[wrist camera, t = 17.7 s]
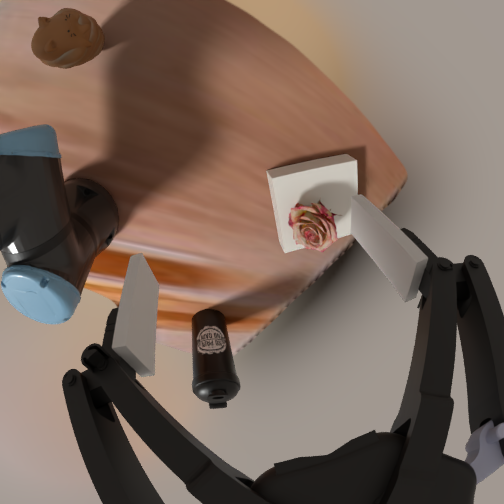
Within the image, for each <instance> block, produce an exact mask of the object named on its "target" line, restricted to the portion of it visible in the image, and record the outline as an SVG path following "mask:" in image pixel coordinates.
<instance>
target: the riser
mask: <svg viewBox="0 0 504 504" xmlns="http://www.w3.org/2000/svg"><path fill="white" fill-rule="evenodd" d="M266 172H267V177H268V182H269V187H270V192H271V198H272V203H273V209H274V214H275V220H276V225H277V231H278V237H279V242H280V244H281V246H282V248H283V251H284V253H288V252H291V251H295V250H298V249H302V248H305V247H304V245H302V244H297V245H296V242H295V240H297V239H293V229H292V228H291V227H290V226H289V224H288V221H289V218H288V217H289V214H290V212H291V208H294V207H295V205H296V204H297V203H299V204H302V205H304V206H310V205H311V206H312V204H311V203H318V201H319V200H320V201H321V203H322V204H323V205H324V206H325V208H327V209H328V210H330V209H331V210H330V212H332V213H334V214H337V215H335V216H334V222H335V225H336V232H337V238H340V237H343V236H347V235H350V234H351V197H352V196H356V195H358V175H357V160H356V159H354V158H353V157H351V156H349V155H348V154H342V155H337V156H331V157H326V158H321V159H316V160H311V161H306V162H302V163H297V164H292V165H288V166H284V167H279V168H275V169H271V170H267V171H266ZM339 215H342V216H339Z"/></svg>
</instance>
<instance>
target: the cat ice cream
mask: <svg viewBox="0 0 504 504" xmlns="http://www.w3.org/2000/svg"><path fill="white" fill-rule="evenodd" d="M38 23H39V28H38V29H37V31H36V32H35V34H34V36H33V39H32V43H31V47H32V51H33V53H34V55H35V56H36V57H37V58H39V59H40V60H41V61H42V62H43V63H44V64H46V65H49V66H51V67H59V68H65V69H67V68H71V67H74V66H79V65H81V64H84V63H86V62H88V61H90V60H92V59H93V58H94V57H96V56H97V55H98V54H99V53H100V52H101V50H102V48H103V44H104V40H105V37H104V34H103V32H102V30H101V28H100V27H99V25H98V24H97V22H96V20H95V19H94V18H92V17H90V16H88V15H86V14H83V13H81V12H80V11H78V10H75V9H70V8H64V9H61V10H59V11H58V12H57V13H56V14H55V15H54V16H53V17H51V18H47V17H39V18H38Z"/></svg>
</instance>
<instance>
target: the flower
mask: <svg viewBox="0 0 504 504" xmlns="http://www.w3.org/2000/svg"><path fill="white" fill-rule="evenodd" d="M311 204H312V206H311V205H310V206H304V205H302V204H299V203H297V204H296V205H295V207H294V208H291V212H290V214H289V217H288V218H289V221H288V224H289V226H290V227H291V228H292V229H293V239H297V240H295V242H296V245H297V244H302V245H304V247H305V248H306V249H310V248H311V249H313V250H315V249H316V250H319V251H321V252H324V251H325V250H326V249H327V247H329V246H330V245H331V244H332V243H333V242H335V241H337V239H338V238H337V232H336V225H335V222H334V216H335V215H337V214H334V213H332V212H330V210H331V209H330V210H328V209H327V208H325V206H324V205H323V204H322V203H321V201H320V200H319V201H318V203H311ZM339 216H342V215H339Z"/></svg>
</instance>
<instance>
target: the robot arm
mask: <svg viewBox="0 0 504 504" xmlns="http://www.w3.org/2000/svg"><path fill="white" fill-rule="evenodd" d="M60 158H61V154H60V153H59V149H58V143H57V136H56V132H55V130H54V128H53V127H51V126H50V125H46V124H44V125H37V126H32V127H27V128H23V129H19V130H15V131H11V132H7V133H3V134H0V251H1V252H2V255H3V257H4V260H5V262H6V264H7V268H6V269H5V270H4V271H3V275H2V281H1V286H2V290H3V293H4V295H5V297H6V298H7V300H8V301H9V302H10V303H11V305H12V306H13V307H15V308H16V309H17V310H18V311H19V312H21V313H22V314H24V315H25V316H27V317H29V318H31V319H33V320H35V321H38V322H41V323H45V324H60V323H63V322H65V321H67V320H69V319H70V317H71V316H72V315H73V313H74V311H75V309H76V307H77V304H78V303H79V302H80V299H81V297H80V296H81V293H82V290H83V288H84V285H85V282H86V279H87V277H88V274H89V272H90V269H91V267H92V264H93V262H94V259H95V257H96V256H97V255H99V254H100V253H101V252H102V251H103V250H105V249H106V248H107V247H108V246H109V245H110V243H111V242H112V240H113V238H114V236H115V234H116V231H117V228H118V222H119V216H118V210H117V207H116V204H115V202H114V200H113V199H112V197H111V196H110V194H109V193H108V192H107V191H106V190H105V189H104V188H103V187H102V186H100V185H99V184H97V183H95V182H93V181H90V180H87V179H72V180H69V181H67V182H65V183H64V178H63V172H62V166H61V159H60ZM351 234H352V235H353V236H354V237H355V239H356V240H357V241H358V242H359V243H360V244H361V246H362V247H363V248H364V249H365V251H366V252H367V253H368V254H369V256H370V257H371V258H372V259H373V261H374V262H375V263H376V264H377V266H378V267H379V268H380V270H381V271H382V272H383V273H384V275H385V276H386V277H387V279H388V280H389V281H390V283H391V284H392V285H393V287H394V288H395V289H396V291H397V292H398V293H399V295H400V296H401V297H402V299H403V300H404V301H405V302H407V301H409V300H411V299H414V298H416V295H417V293H418V290H419V291H420V292H421V293H422V296H421V299H420V302H419V304H418V307H417V308H419V307H420V311H419V320H418V326H417V333H416V340H415V346H414V351H413V357H412V362H411V367H410V371H409V376H408V380H407V384H406V388H405V393H404V396H403V400H402V404H401V407H400V410H399V413H398V415H397V417H396V419H395V421H394V423H393V426H392V428H391V431H390V432H380V433H376V432H375V430H373V431H372V432H369V433H367V434H364V435H362V436H359V437H357V438H355V439H352V440H350V441H349V442H348V443H346V444H344V445H343V446H341V447H340V448H338V449H337V450H335V451H334V452H332V453H330V454H328V455H323V456H313V457H299V458H295V459H291V460H287V461H283V462H279V463H275V464H274V466H275V467H273V468H271V469H269V470H267V471H266V472H264V473H263V474H262V475H261V476H259V477H258V478H257V479H256V480H255V481H254V480H252V479H250V478H249V477H247V476H246V475H245V474H243V473H241V472H240V471H238V470H237V469H235V468H233V467H232V466H230V465H229V464H227V463H226V462H225V461H223V460H222V459H221V458H219V457H218V456H217V455H216V454H214V453H213V452H212V451H211V450H210V449H208V448H207V447H206V446H204V445H203V444H202V443H201V442H200V441H198V439H196V438H195V437H194V436H193V435H192V434H190V433H189V432H188V431H187V430H186V429H185V428H184V427H183V426H182V425H181V424H180V423H179V422H177V421H176V420H175V419H174V418H173V417H172V416H171V415H170V414H169V413H168V412H167V411H166V410H165V409H164V408H163V407H162V406H161V405H160V404H159V403H158V402H157V401H156V400H155V399H154V398H153V397H152V396H151V394H150V393H149V392H148V391H147V390H146V389H145V388H144V387H143V386H142V385H141V384H140V383H139V381H138V380H136V372H137V373H138V374H139V375H140V376H141V377H146V376H152V375H155V341H156V322H157V307H158V294H159V284H158V282H157V280H156V278H155V276H154V275H153V273H152V271H151V269H150V267H149V265H148V264H147V262H146V260H145V258H144V256H143V254H142V253H139V254H136V255H133V256H131V257H130V261H129V265H128V269H127V273H126V277H125V281H124V286H123V290H122V295H121V299H120V304H119V308H115V309H112V311H111V313H110V314H109V316H108V319H107V324H106V325H107V326H106V329H105V334H104V339H103V345H102V346H100V345H99V344H95V343H94V344H91V345H89V346H88V347H86V349H85V350H84V351H83V353H82V356H81V361H82V364H83V365H84V366H85V367H86V368H88V370H86V371H84V372H82V373H80V372H79V371H78V370H76V369H71V370H69V371H68V372H66V374H65V375H64V377H63V380H62V386H63V391H64V396H65V399H66V404H67V408H68V412H69V416H70V420H71V423H72V427H73V430H74V434H75V437H76V440H77V443H78V446H79V449H80V452H81V454H82V457H83V460H84V462H85V465H86V468H87V470H88V473H89V474H90V477H91V480H92V482H93V484H94V486H95V489H96V491H97V493H98V495H99V497H100V499H101V501H102V503H103V504H165V503H164V502H163V501H162V499H161V497H160V496H159V494H158V493H157V491H156V490H155V488H154V487H153V485H152V483H151V482H150V480H149V478H148V477H147V475H146V473H145V471H144V470H143V468H142V466H141V464H140V463H139V461H138V458H137V457H136V455H135V453H134V451H133V449H132V447H131V445H130V443H129V441H128V439H127V436H126V434H125V432H124V430H123V428H122V426H121V424H120V421H119V419H118V416H117V414H116V412H115V409H114V407H113V404H114V405H115V406H116V408H117V409H118V410H119V412H120V413H121V414H122V416H123V417H124V418H125V419H126V421H127V422H128V423H129V424H130V426H131V427H132V428H133V429H134V431H135V432H136V433H137V434H138V435H139V436H140V437H141V439H142V440H143V441H144V442H145V443H146V444H147V446H148V447H149V448H150V449H151V450H152V451H153V452H154V453H155V454H156V455H157V456H158V457H159V458H160V459H161V461H163V463H164V464H166V466H167V467H168V468H170V470H172V472H174V473H175V474H176V475H177V476H178V477H179V478H180V479H181V480H182V481H183V482H184V483H185V484H186V488H187V490H188V491H189V492H190V493H191V494H192V495H193V496H194V497H195V498H197V499H198V500H199V501H200V502H201V503H203V504H473V502H474V494H475V489H476V485H477V484H478V483H479V482H481V481H482V480H484V479H485V478H486V477H488V476H489V475H491V474H492V473H493V472H494V471H496V470H497V469H498V468H499V467H501V466H502V465H503V464H504V315H503V312H502V309H501V306H500V304H499V301H498V298H497V295H496V292H495V290H494V287H493V285H492V282H491V280H490V277H489V275H488V273H487V270H486V268H485V266H484V263H483V262H482V260H481V259H479V258H478V257H476V256H474V255H468V256H466V257H465V259H464V262H463V263H457V264H453V263H452V262H451V261H450V260H448V259H446V258H442V257H439V258H438V257H437V256H436V255H435V254H434V253H433V252H432V251H431V250H430V249H429V248H428V247H427V246H426V245H425V244H424V243H422V241H421V240H420V239H418V237H417V236H416V235H415V234H414V233H413V232H411V231H409V230H408V229H405V228H402V229H399V228H398V227H397V226H396V225H395V224H394V223H393V222H392V221H391V220H390V219H389V218H388V217H387V216H385V215H384V214H383V213H382V212H381V211H380V210H379V209H378V208H377V207H376V206H374V205H373V204H372V203H371V202H370V201H369V200H368V199H366V198H365V197H364V196H363V195H362V194H360V195H356V196H352V197H351ZM457 325H458V330H459V335H460V340H461V346H462V352H463V358H464V366H465V374H466V382H467V395H468V412H469V424H470V430H471V434H472V435H471V436H470V438H469V441H468V442H467V444H466V448H465V449H466V451H467V452H468V454H467V458H466V460H465V462H464V461H462V460H459V459H456V458H453V457H451V456H448V455H446V454H443V450H444V446H445V443H446V439H447V435H448V431H449V426H450V422H451V417H452V413H453V406H454V401H453V399H452V398H451V397H450V393H451V386H452V379H453V371H454V361H455V350H456V330H457ZM112 402H113V404H112Z"/></svg>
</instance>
